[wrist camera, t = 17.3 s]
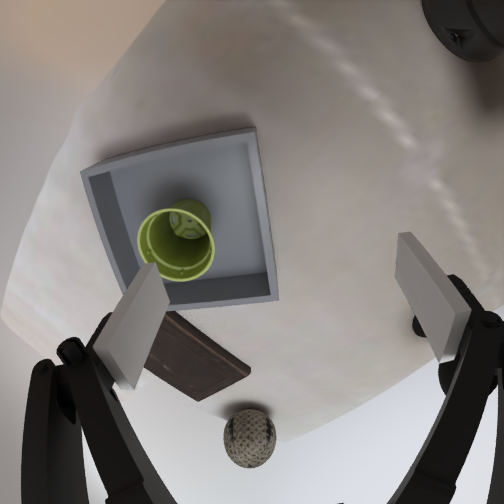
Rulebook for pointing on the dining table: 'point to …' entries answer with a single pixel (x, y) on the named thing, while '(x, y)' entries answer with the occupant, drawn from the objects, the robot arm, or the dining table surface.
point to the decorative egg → (249, 438)
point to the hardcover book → (192, 359)
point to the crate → (212, 197)
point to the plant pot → (178, 240)
